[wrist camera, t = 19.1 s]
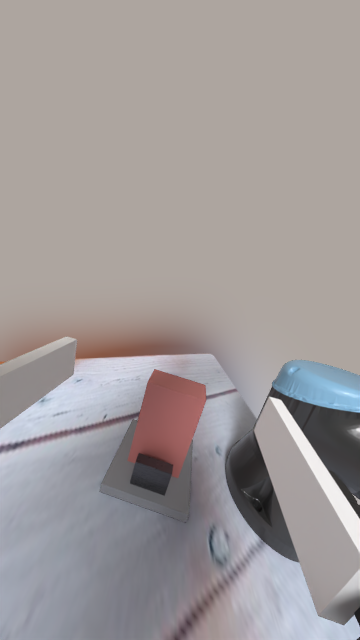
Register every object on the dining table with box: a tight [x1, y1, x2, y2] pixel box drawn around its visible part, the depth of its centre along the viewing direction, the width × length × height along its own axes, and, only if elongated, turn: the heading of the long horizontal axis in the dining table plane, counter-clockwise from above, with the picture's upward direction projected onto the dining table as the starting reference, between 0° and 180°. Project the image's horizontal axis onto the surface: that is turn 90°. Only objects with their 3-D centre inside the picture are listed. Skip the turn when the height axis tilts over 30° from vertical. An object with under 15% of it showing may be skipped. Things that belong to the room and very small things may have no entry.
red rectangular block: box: [128, 369, 206, 478], centre depth 26 cm, size 8×4×14 cm, turn 83°
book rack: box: [100, 419, 193, 523], centre depth 27 cm, size 12×11×6 cm
